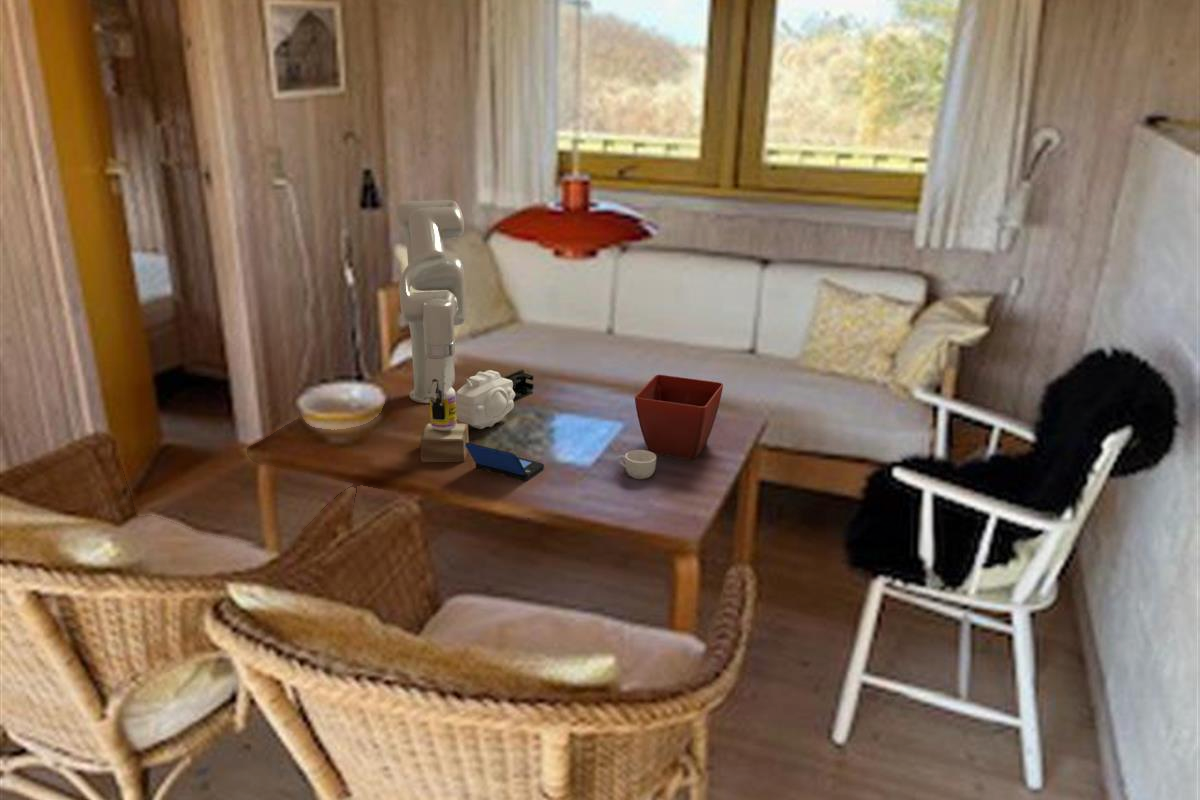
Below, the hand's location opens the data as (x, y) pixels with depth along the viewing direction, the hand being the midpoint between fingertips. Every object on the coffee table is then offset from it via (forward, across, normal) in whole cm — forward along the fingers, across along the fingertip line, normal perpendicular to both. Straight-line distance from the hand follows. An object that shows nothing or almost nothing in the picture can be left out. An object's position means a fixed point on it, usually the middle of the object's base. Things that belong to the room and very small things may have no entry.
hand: (443, 413), depth 239 cm
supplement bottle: (+4, 0, 0) cm, 4 cm away
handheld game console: (+12, +8, +18) cm, 23 cm away
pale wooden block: (+11, 0, 0) cm, 11 cm away
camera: (+12, -20, +6) cm, 24 cm away
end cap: (+12, -45, +8) cm, 47 cm away
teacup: (+11, +4, +51) cm, 53 cm away
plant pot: (+11, -14, +60) cm, 63 cm away
